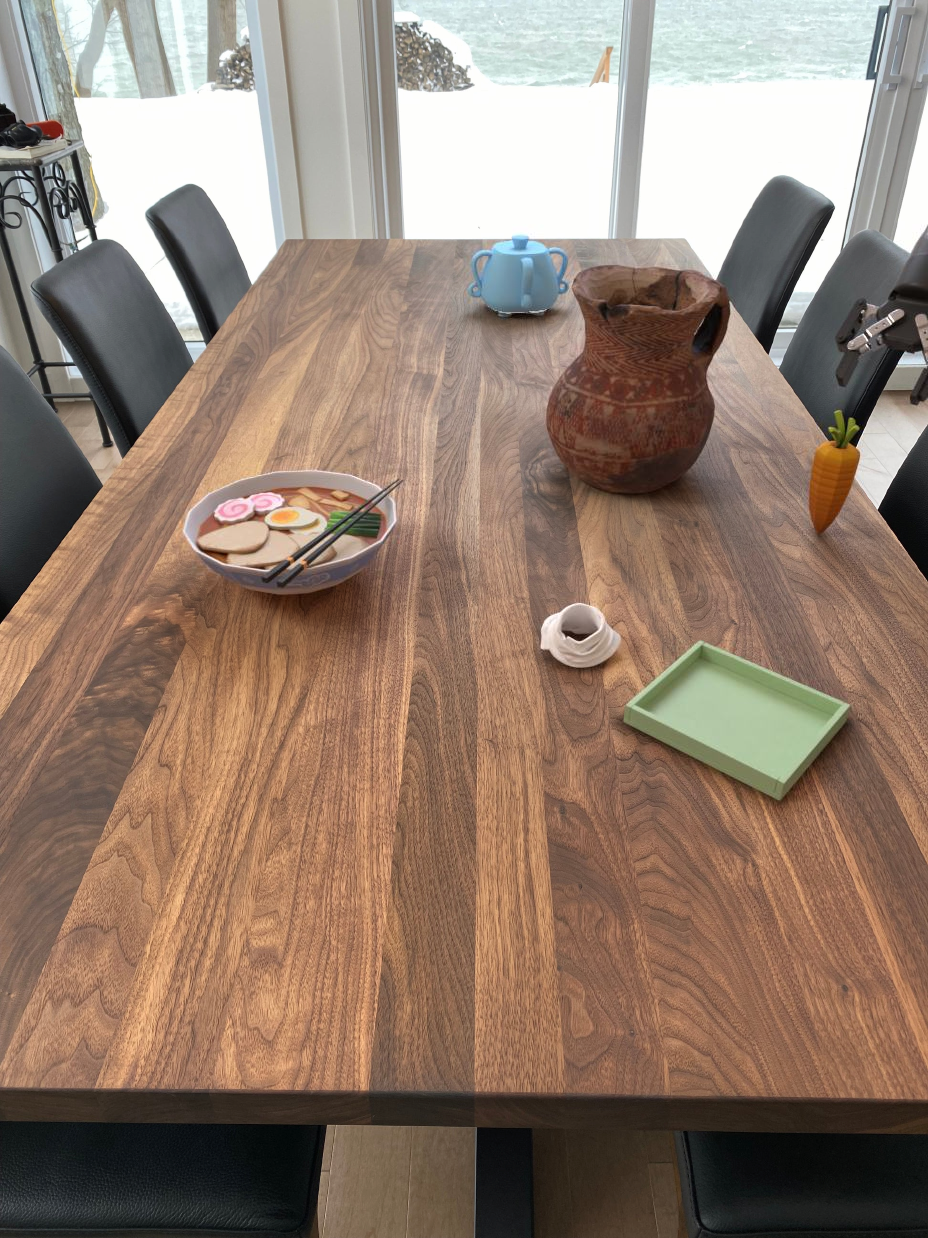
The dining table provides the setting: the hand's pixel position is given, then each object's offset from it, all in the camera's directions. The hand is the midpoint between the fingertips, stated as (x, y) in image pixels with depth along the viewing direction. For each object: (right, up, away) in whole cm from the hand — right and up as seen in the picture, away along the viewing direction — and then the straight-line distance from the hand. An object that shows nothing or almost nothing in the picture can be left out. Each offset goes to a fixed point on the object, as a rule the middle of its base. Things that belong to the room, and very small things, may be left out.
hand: (876, 392), depth 113 cm
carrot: (-5, -16, +4) cm, 17 cm away
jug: (-26, -7, +18) cm, 32 cm away
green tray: (-23, -36, -25) cm, 49 cm away
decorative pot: (-37, +34, +77) cm, 92 cm away
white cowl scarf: (-36, -29, -16) cm, 49 cm away
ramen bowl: (-66, -21, -4) cm, 70 cm away
